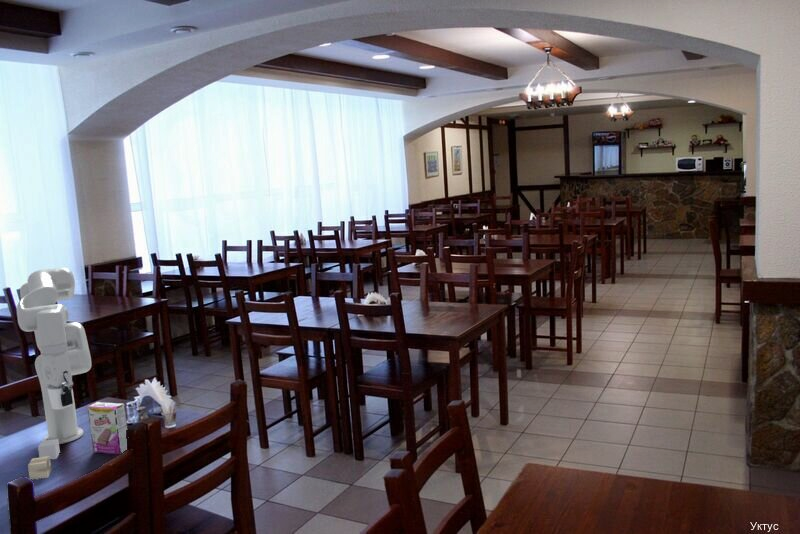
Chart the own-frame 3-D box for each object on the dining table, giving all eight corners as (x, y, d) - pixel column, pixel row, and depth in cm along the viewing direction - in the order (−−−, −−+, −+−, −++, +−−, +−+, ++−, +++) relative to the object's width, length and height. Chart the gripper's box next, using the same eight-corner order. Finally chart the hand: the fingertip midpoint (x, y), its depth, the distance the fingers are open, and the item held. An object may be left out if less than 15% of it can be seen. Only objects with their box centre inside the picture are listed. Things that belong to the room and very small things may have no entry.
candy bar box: (92, 453, 222) (86, 406, 219) (102, 446, 227) (96, 401, 224) (121, 455, 219) (114, 408, 216) (130, 449, 224) (125, 402, 221)
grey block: (43, 455, 223) (41, 441, 222) (60, 452, 224) (58, 438, 223) (40, 461, 218) (37, 447, 217) (56, 459, 219) (54, 444, 218)
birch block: (34, 473, 209) (32, 458, 209) (51, 470, 211) (49, 455, 210) (30, 480, 205) (27, 465, 204) (47, 477, 206) (45, 462, 205)
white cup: (64, 410, 207) (61, 389, 206) (45, 409, 209) (41, 388, 207) (78, 402, 214) (75, 381, 213) (60, 401, 215) (57, 381, 214)
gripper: (28, 348, 210) (36, 401, 213) (56, 355, 200) (64, 412, 203) (52, 342, 216) (59, 394, 219) (80, 349, 206) (87, 404, 209)
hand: (61, 402), depth 211 cm, fingers closed on white cup, 6 cm apart
